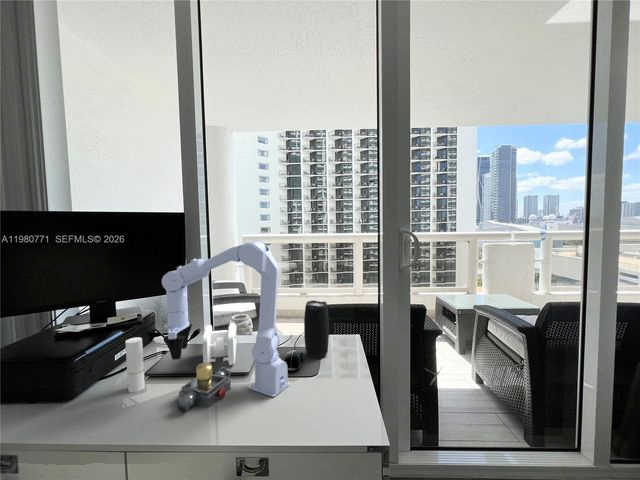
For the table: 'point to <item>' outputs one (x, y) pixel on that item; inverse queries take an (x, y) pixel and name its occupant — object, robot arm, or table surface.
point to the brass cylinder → (204, 376)
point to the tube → (135, 364)
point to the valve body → (204, 391)
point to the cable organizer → (219, 344)
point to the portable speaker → (316, 329)
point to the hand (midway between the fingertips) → (179, 353)
